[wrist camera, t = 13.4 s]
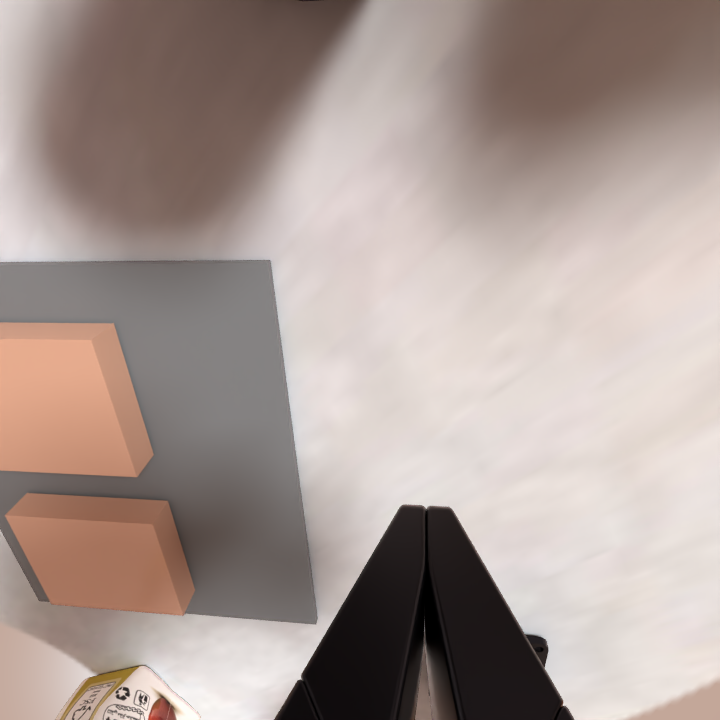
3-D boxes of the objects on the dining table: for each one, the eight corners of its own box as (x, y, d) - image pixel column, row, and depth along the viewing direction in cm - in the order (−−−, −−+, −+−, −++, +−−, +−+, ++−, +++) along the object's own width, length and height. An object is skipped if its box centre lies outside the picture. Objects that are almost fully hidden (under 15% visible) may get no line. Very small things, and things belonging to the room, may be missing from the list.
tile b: (137, 477, 23) (-20, 469, 24) (155, 452, 24) (7, 446, 25) (91, 340, 19) (-89, 337, 20) (115, 321, 21) (-53, 320, 22)
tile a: (183, 615, 27) (51, 604, 28) (196, 587, 29) (70, 578, 30) (152, 524, 24) (4, 515, 25) (169, 498, 25) (28, 490, 26)
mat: (317, 618, 29) (316, 624, 29) (43, 595, 32) (39, 601, 31) (270, 260, 19) (267, 263, 19) (-133, 263, 21) (-142, 266, 21)
